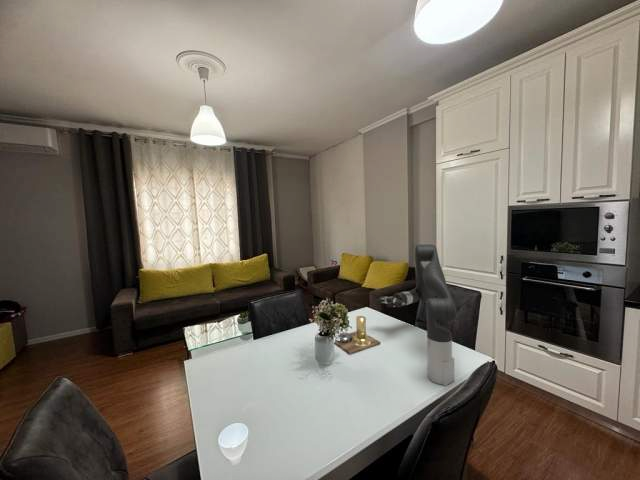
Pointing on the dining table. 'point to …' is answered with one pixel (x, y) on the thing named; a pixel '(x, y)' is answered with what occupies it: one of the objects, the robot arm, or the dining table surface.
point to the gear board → (356, 345)
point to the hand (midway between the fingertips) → (381, 303)
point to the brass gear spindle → (361, 332)
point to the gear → (345, 338)
